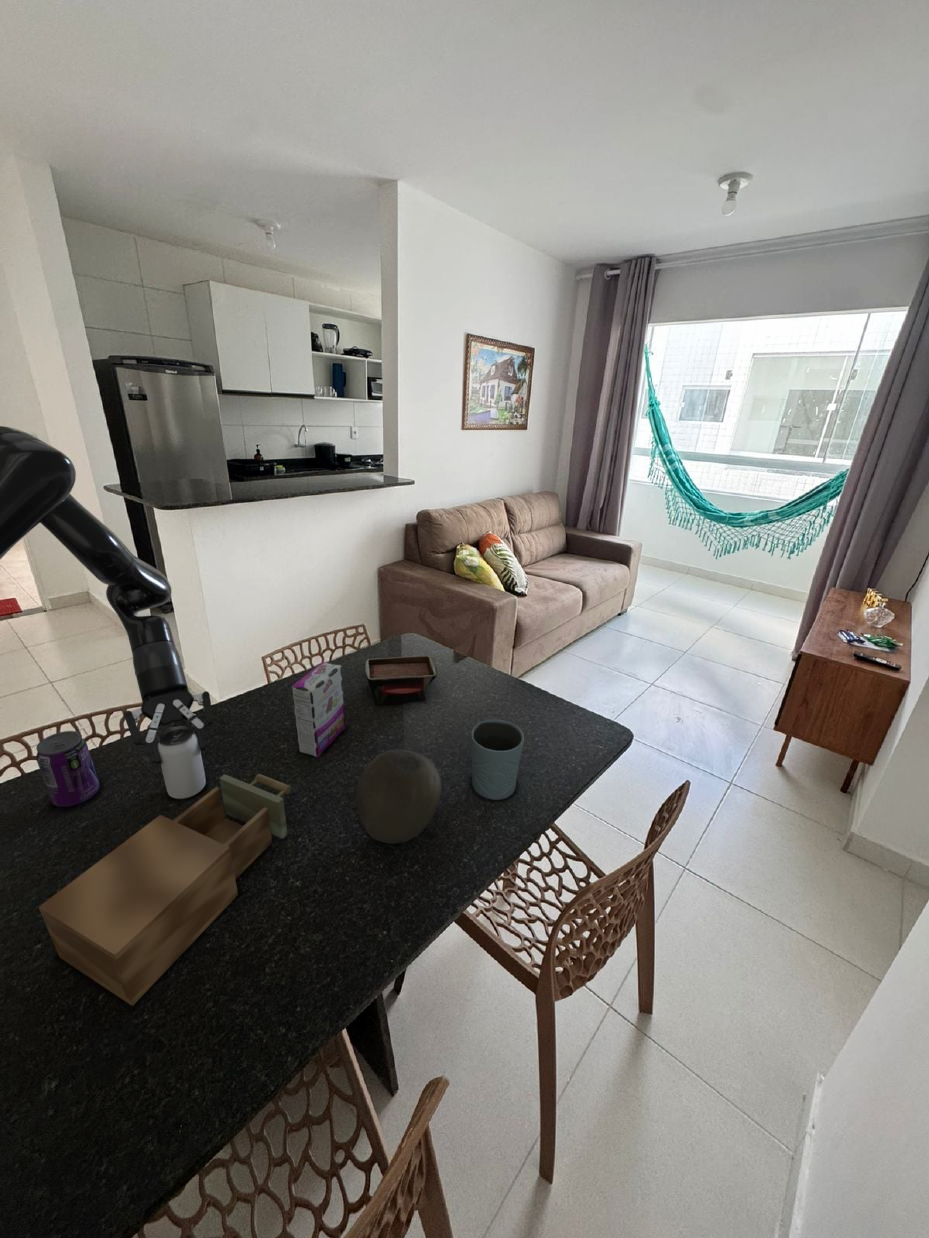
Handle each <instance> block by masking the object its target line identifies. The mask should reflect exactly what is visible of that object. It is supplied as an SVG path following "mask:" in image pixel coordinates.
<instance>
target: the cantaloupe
mask: <svg viewBox="0 0 929 1238" xmlns="http://www.w3.org/2000/svg"><path fill="white" fill-rule="evenodd" d="M442 787H443V786H442V779H441V776H440V773H439V771H438V769H437V768H436V766H435V765H434V763H433V762H432V761H431V760H430V759H429V758H427V757H426V756H425V755H422V754H421V753H418V752H416V751H413V750H408V749H407V750H405V749H401V748H400V749H399V748H398V749H391V750H387V751H384V752H382V753H380V754H378V755H377V756H375V758H373V759H372V760H371V761H370V762H369V764H368V765H367V767H366V768H365V770H364V771H363V773H362V775H361V777H360V779H359V781H358V784H357V786H356V795H355V804H356V811H357V814H358V817H359V820H360V821H361V824H362V826H363V829H364V830H365V831H366V832H367V834H368V835H369V836H370V838H372V839H373V840H375V841H377V842H381V843H384V844H390V845H394V844H395V845H396V844H401V843H404V842H405V843H406V842H408V841H410V840H412V839H414V838H415V837H417V836H418V835H419V834H420V833H422V831H423V830H424V829H425V828H426V827H427V826H428V824H429V823H430V822H431V820H432V818H433V817H434V815H435V813H436V811H437V809H438V806H439V804H440V802H441V797H442V790H443V789H442Z"/></svg>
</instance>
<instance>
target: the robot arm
mask: <svg viewBox="0 0 929 1238" xmlns="http://www.w3.org/2000/svg"><path fill="white" fill-rule="evenodd" d="M76 481H77V473H76V468H75V465H74V463H73V462H72V460H71V459H70V458H69V456H67V455H66V454H64V452H62V451H60V450H59V449H57V448H55V447H54V446H52V445H50V444H48V443H47V442H45V441H43V440H41V439H39V438H37V437H36V436H34V435H33V434H30V433H28V432H25V431H23V430H21V429H18V428H14V427H10V426H3V425H0V560H2V559H3V557H4V556H5V555H6V554H7V553H8V552H9V551H10V550H11V549H12V548H13V547H14V546H16V544H18V542H19V541H21V540H22V539H23V538H24V537H25V536H26V535H27V534H28V533H30V532H31V531H32V530H33V529H34V528H35V527H37V526H38V525H39V524H41V525H42V526H43V527H44V528H45V529H46V530H48V532H49V533H51V535H53V536H54V537H55V538H56V539H57V540H58V541H59V542H60V544H61V545H63V547H65V548H66V550H68V551H69V552H70V554H72V556H73V557H75V559H76V560H77V561H78V562H80V563H81V564H82V566H83V567H84V568H86V570H87V571H89V572H90V573H91V575H93V576H94V577H95V578H96V579H97V580H98V581H99V582H101V583H102V584H104V585H107V587H106V589H105V590H106V591H105V595H106V596H105V597H106V600H107V601H108V603H109V605H110V606H111V608H112V609H113V612H115V614H116V615H117V617H118V618H119V620H120V622H121V624H122V625H123V628H124V630H125V632H126V634H127V639H128V641H129V645H130V650H131V655H132V665H133V670H134V676H135V677H136V681H137V686H138V691H139V694H140V698H141V702H142V703H141V706H140V708H137V709H134V710H132V711H131V710H125V711H124V712H123V716H124V719H125V723H126V725H127V728H128V731H129V734H130V736H131V739H132V742H133V744H134V746H145V747H146V749H147V753H148V756H149V759H150V762H151V763H152V764H154V763H155V765H156V766H159V765H161V761H160V757H159V753H158V749H157V745H158V744H157V742H156V738H157V736H158V733H159V730H160V728H161V726H162V727H164V726H168V725H170V724H172V723H179V722H182V721H183V720H184V721H185V722H186V723H187V724H188V725H190V726H191V727H192V728H193V729H195V734H196V736H197V738H198V742H199V747H200V752H201V753H202V752H205V751H206V747H208V744H209V741H208V737H207V733H206V728H207V727H208V726H211V725H213V722H214V714H213V708H212V702H211V696H210V692H209V691H205V690H204V691H203V692H202V693H198V694H192V693H191V692H190V690H189V686H188V682H187V679H186V675H185V672H184V671H185V670H184V668H183V663H182V659H181V656H180V653H179V651H178V649H177V647H176V644H175V640H174V636H173V633H172V628H171V624H170V623H169V622H170V621H169V620H168V619H167V618H166V617H164V616H162V615H156V614H155V615H152V614H151V615H139V612H142V611H145V610H150V609H152V608H156V607H160V606H162V605H164V604H166V603H168V602H169V600H170V599H171V597H172V593H173V592H172V589H173V588H172V586H171V583H170V580H169V579H168V578H167V577H166V576H165V575H164V574H163V573H162V572H161V571H160V570H158V569H157V568H156V567H154V566H153V565H151V564H149V563H148V562H145V561H143V560H142V559H141V558H139V557H137V556H135V555H134V554H133V553H132V552H131V550H129V548H128V547H127V546H126V545H125V544H124V543H123V541H122V540H121V539H120V538H119V537H118V536H117V535H116V534H115V532H113V531H112V530H111V529H110V528H109V527H108V526H106V524H104V523H103V522H102V521H101V520H100V519H98V518H97V517H96V516H95V515H94V514H93V513H91V512H90V511H89V510H88V509H87V508H86V507H85V506H83V505H82V504H81V502H79V501H78V500H77V499H76V498H75V497H74V496H73V494H71V492H72V490H73V489H74V487H75V484H76ZM194 702H196V703H197V705H198V706H201V707H202V709H203V715H204V719H202V720H201V719H199V717H197V715H196V714H195V713H193V711H191V710H190V709H191V708H192V706H193V703H194ZM142 715H143V716H144V717H145V718H147V719H149V720H150V721H151V723H150V724H149V729H148V732H147V734H146V736H145V735H141V734H140V731H139V728H138V725H137V723H139V722H140V720H141V718H140V717H141V716H142Z"/></svg>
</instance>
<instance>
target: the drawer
mask: <svg viewBox="0 0 929 1238" xmlns="http://www.w3.org/2000/svg"><path fill="white" fill-rule="evenodd" d="M258 783H259V784H261V785H263V786H266V787H269V788H270V789H273V790H275V791H278V793H277V794H274V793H272V792H269V791H267V790H264V789H262V788H259V787H257V786H256V785H257V784H258ZM219 785H220V787H218V786H215V787H214V788H213V789H211V790H210V791H209V792H207V793H205V795H204V796H202V797H201V798H200V799H198V800H197V801H195V802H194V803H193V804H192V805H191V806H190V807H188V808H187V809H185V811H183V812H182V813H181V814H179V815H178V816H176V817H175V818H174V819H173V820H172V821H175V822H177V823H179V824H181V825H183V826H185V827H187V828H189V829H192V830H194V831H196V832H198V833H200V834H202V835H204V836H206V837H209V838H211V839H213V840H215V841H217V842H219V843H221V844H223V845H226V846H228V847H230V853H231V859H232V864H233V870H234V875H235V881H236V880H237V879H238V878H239V877H240V876H241V875H242V874H243V872H245V871H246V870H247V868H249V867H250V865H251V864H253V862H255V861H256V859H257V858H259V856H261V854H262V853H263V852H264V851H265V850H266V849H267V848H268V847H269V846H270V845H271V844H272V843H273V837H272V835H273V836H275V837H277V838H279V839H284V838H285V837H286V836H287V835H288V829H287V827H288V826H287V820H286V819H287V818H286V810H285V801H284V797H283V796H284V795H285V794H286V795H289V794H290V793H291V792H292V786H291V785H288V784H286V783H284V782H281V781H278V780H276V779H274V778H271V777H269V776H266V775H263V774H261V773H257V774H256V775H255V777H254V780H252V781H251V782H250V783H247V782H245V781H242V780H240V779H237V778H235V777H232V776H229V775H228V774H223V775H222V776H220V777H219ZM225 814H226V815H228V816H230V817H231V818H234V819H236V820H238V821H241V822H244V823H245V824H244V825H243V824H241V823H238V822H236V821H234V820H232V819H229V818H227V817H226V816H225Z"/></svg>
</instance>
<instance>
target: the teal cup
mask: <svg viewBox="0 0 929 1238" xmlns="http://www.w3.org/2000/svg"><path fill="white" fill-rule="evenodd" d="M470 740H471V744H470V746H471V748H470V749H471V777H472V779H471V780H472V781H471V784H472V788H473V790H474V792H475V793H476V794H478V795H479V796H481V797H482V798H485V799H489V800H493V801H500V800H505V799H507V798H509V797H510V796H512V795H513V794H514V792H515V790H516V786H517V777H518V772H519V766H520V761H521V756H522V753H523V747H524V741H525V736H524V733H523V730H522V729H521V728H520V727H519V726H518V725H516V724H514V723H512V722H510V721H508V720H503V719H486V720H482V721H480V722H478V723H477V724H475V725H474V726H473V728H472V729H471V732H470Z"/></svg>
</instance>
